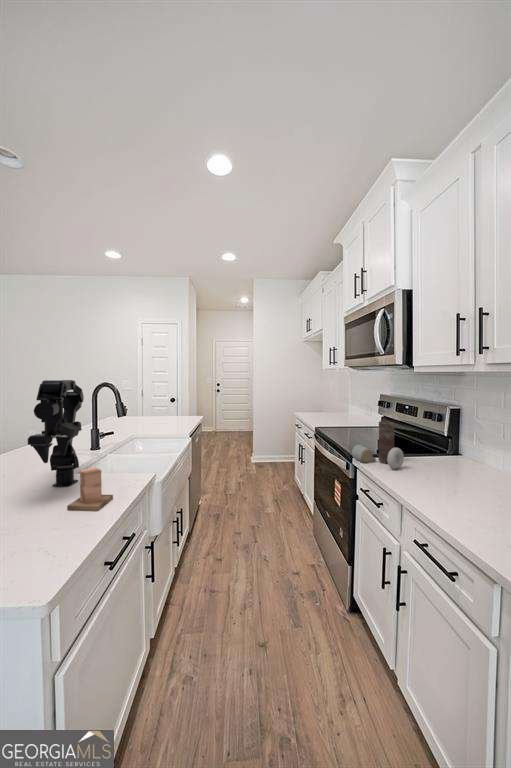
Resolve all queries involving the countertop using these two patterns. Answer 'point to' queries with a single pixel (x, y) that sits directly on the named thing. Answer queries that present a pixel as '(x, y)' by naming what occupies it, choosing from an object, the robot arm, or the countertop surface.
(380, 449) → the candle
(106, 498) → the base board
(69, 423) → the robot arm
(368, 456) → the grey cylinder
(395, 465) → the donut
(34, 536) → the countertop surface
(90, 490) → the pillar
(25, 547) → the countertop surface
